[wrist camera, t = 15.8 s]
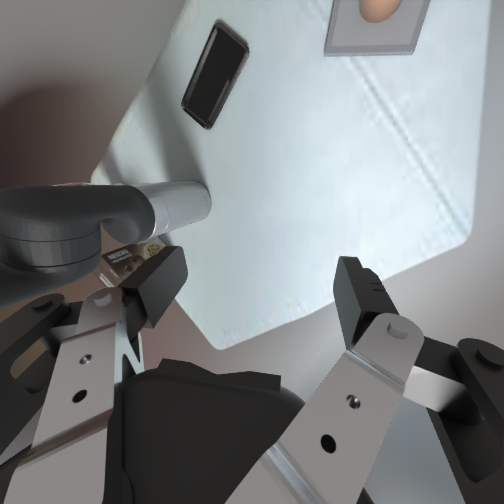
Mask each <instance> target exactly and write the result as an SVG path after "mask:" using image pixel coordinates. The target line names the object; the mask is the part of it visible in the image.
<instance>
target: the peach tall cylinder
mask: <svg viewBox="0 0 504 504" xmlns="http://www.w3.org/2000/svg"><path fill="white" fill-rule="evenodd" d="M402 1H403V0H359V10H360V14H361V16H362V17H363V19H365V20H366V21H367V22H370V23H378V22H381V21H384V20H386V19H387V18H389V17H390V16H391V15H392V14H393V13H394V12H395V11H396V10H397V9H398V7H399V6H400V4H401V3H402Z"/></svg>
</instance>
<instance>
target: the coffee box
mask: <svg viewBox="0 0 504 504" xmlns="http://www.w3.org/2000/svg"><path fill="white" fill-rule="evenodd" d="M165 246H166V245H165V243H164V242H163V241H162V240H161V239H160V238H159V237H158V236H156V237H153V238H150V239H147V240H145V241H142V242H139V243H136V244H130V245H127V246H124V247H122V248H119V249H116V250H114V251H111V252H108V253H105V254H103V255H101V260H100V263H99V265H98V266H97V268H96V269H95V270H94V271H92V273H93V274H94V275H95V277H97V279H98V280H99V281H100V282H101V283H102V284H103V285H104V286H105V287H106V288H107V287H117V286H118V285H119V284H120V283H121V282H122V281H123V280H125V279H126V278H127V277H128V276H129V275H130V274H131V273H132V272H133V271H136V269H137V268H138V267H139V266H141V264H142V263H143V262H144V261H145V260H147V259H148V258H150V257H152V256H153V255H155V254H157V253H158V252H160V251H161V250H162V249H163V248H164V247H165Z"/></svg>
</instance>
